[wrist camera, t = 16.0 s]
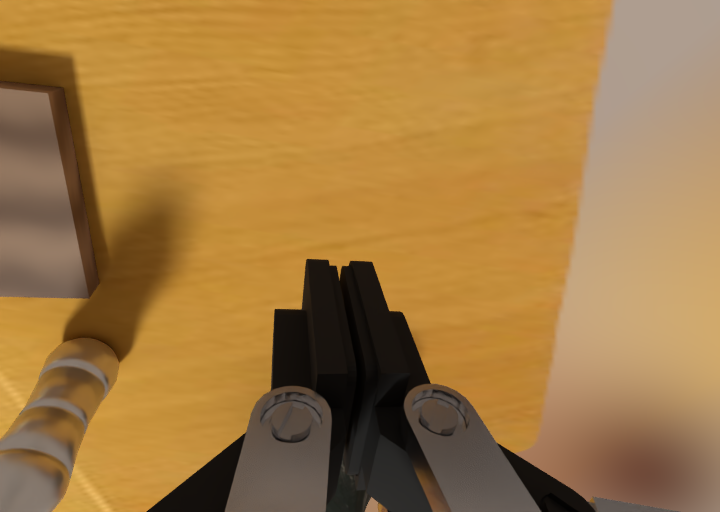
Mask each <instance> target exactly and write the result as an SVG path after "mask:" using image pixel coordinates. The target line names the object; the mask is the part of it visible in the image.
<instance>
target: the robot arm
mask: <svg viewBox="0 0 720 512" xmlns="http://www.w3.org/2000/svg"><path fill="white" fill-rule="evenodd" d="M343 458H344V466H345V472H346V474H347V475H354V478H355V485H356V491H357V490H366V493H367V494H369V495H370V496H371V497H372V498H374V499H375V500H376V501H377V502H378V511H379V512H679V511H673V510H667V509H661V508H655V507H650V506H644V505H638V504H632V503H626V502H621V501H615V500H609V499H603V498H597V497H592V498H591V500H590V502H587V501H586V500H585V499H584V498H583V497H582V496H580V495H579V494H578V493H576V492H575V491H574V490H572V489H571V488H569V487H568V486H566V485H564V484H562V483H561V482H559V481H558V480H556V479H555V478H553V477H551V476H550V475H548V474H547V473H545V472H543V471H542V470H540V469H538V468H537V467H535V466H534V465H532V464H530V463H529V462H527V461H525V460H524V459H522V458H521V457H519V456H517V455H516V454H514V453H512V452H511V451H509V450H508V449H506V448H504V447H503V446H501V445H499V444H498V443H496V441H495V440H494V438H493V437H492V435H491V434H490V432H489V430H488V429H487V427H486V426H485V424H484V423H483V421H482V420H481V418H480V417H479V415H478V414H477V412H476V410H475V409H474V407H473V406H472V405H471V404H470V402H469V401H468V400H467V399H466V398H465V397H464V396H462V395H461V394H460V393H458V392H457V391H455V390H453V389H451V388H449V387H447V386H442V385H438V384H431V383H430V381H429V378H428V376H427V373H426V370H425V368H424V365H423V363H422V360H421V358H420V355H419V352H418V350H417V347H416V345H415V342H414V340H413V337H412V334H411V332H410V329H409V327H408V324H407V321H406V319H405V316H404V315H403V313H402V312H397V311H389V309H388V306H387V303H386V301H385V298H384V295H383V292H382V289H381V286H380V283H379V280H378V277H377V274H376V271H375V269H374V266H373V263H372V262H365V261H350V263H349V266H342V268H341V274H340V281H339V276H338V271H337V267H336V266H329V261H328V260H318V259H307V260H306V267H305V279H304V290H303V302H302V310H295V309H275V313H274V332H273V354H272V380H271V391H270V392H268V393H266V394H264V395H263V396H262V397H261V398H260V399H259V400H258V401H257V402H256V404H255V406H254V409H253V411H252V413H251V417H250V421H249V424H248V428H247V432H246V433H245V434H243V435H242V436H241V437H240V438H238V439H237V440H236V441H235V442H233V443H232V444H231V445H230V446H228V447H227V448H226V449H225V450H223V451H222V452H221V453H220V454H218V455H217V456H216V457H215V458H213V459H212V460H211V461H210V462H208V463H207V464H206V465H205V466H203V467H202V468H201V469H199V470H198V471H197V472H196V473H194V474H193V475H192V476H191V477H189V478H188V479H187V480H186V481H184V482H183V483H182V484H181V485H179V486H178V487H177V488H176V489H174V490H173V491H172V492H171V493H169V494H168V495H167V496H166V497H164V498H163V499H162V500H161V501H159V502H158V503H157V504H155V505H154V506H153V507H152V508H150V509H149V510H148V511H147V512H326V506H327V504H328V503H329V502H330V501H331V500H332V499H333V497H334V496H335V495H336V490H337V485H338V479H339V475H340V471H341V465H342V460H343Z"/></svg>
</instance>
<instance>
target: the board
mask: <svg viewBox="0 0 720 512" xmlns="http://www.w3.org/2000/svg"><path fill="white" fill-rule="evenodd" d="M98 285H99V279H98V274H97V268H96V263H95V257H94V252H93V247H92V241H91V236H90V230H89V225H88V220H87V214H86V209H85V203H84V198H83V192H82V187H81V182H80V176H79V171H78V165H77V160H76V154H75V149H74V144H73V138H72V133H71V127H70V122H69V117H68V111H67V106H66V100H65V95H64V89H63V88H61V87H52V86H42V85H33V84H24V83H15V82H6V81H0V297H43V298H88V299H89V298H90V297H91V295H92V294H93V292H94V291H95V289H96V288H97V286H98Z"/></svg>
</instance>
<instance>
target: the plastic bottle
mask: <svg viewBox="0 0 720 512" xmlns="http://www.w3.org/2000/svg"><path fill="white" fill-rule="evenodd" d="M118 370H119V361H118V359H117V356H116V354H115V353H114V351H113V350H112V349H111V348H110V347H109V346H108V345H106V344H105V343H103V342H101V341H99V340H96V339H92V338H77V339H73V340H69V341H66V342H64V343H62V344H61V345H59V346H58V347H57V348H56V349H55V350H54V351H53V352H52V353H51V354H50V355H49V356H48V357H47V359H46V361H45V363H44V366H43V368H42V370H41V373H40V376H39V380H38V382H37V384H36V386H35V388H34V390H33V392H32V394H31V396H30V398H29V400H28V402H27V404H26V406H25V407H24V408H23V410H22V411H21V413H20V414H19V416H18V417H17V418H16V420H15V421H14V422H13V424H12V425H11V427H10V428H9V429H8V431H7V432H6V433H5V435H4V436H3V437H2V438H1V439H0V512H52V511H53V510H54V509H55V507H56V506H57V505H58V504H59V502H60V501H61V500H62V499H63V497H64V495H65V493H66V490H67V487H68V485H69V480H70V478H71V474H72V471H73V467H74V464H75V460H76V456H77V453H78V450H79V447H80V445H81V442H82V440H83V437H84V434H85V432H86V429H87V427H88V424H89V423H90V421H91V419H92V417H93V416H94V414H95V412H96V410H97V409H98V407H99V405H100V404H101V402H102V400H103V399H104V398H105V397H106V396H107V394H108V393H109V392H110V390H111V389H112V387H113V385H114V384H115V382H116V380H117V375H118Z"/></svg>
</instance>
